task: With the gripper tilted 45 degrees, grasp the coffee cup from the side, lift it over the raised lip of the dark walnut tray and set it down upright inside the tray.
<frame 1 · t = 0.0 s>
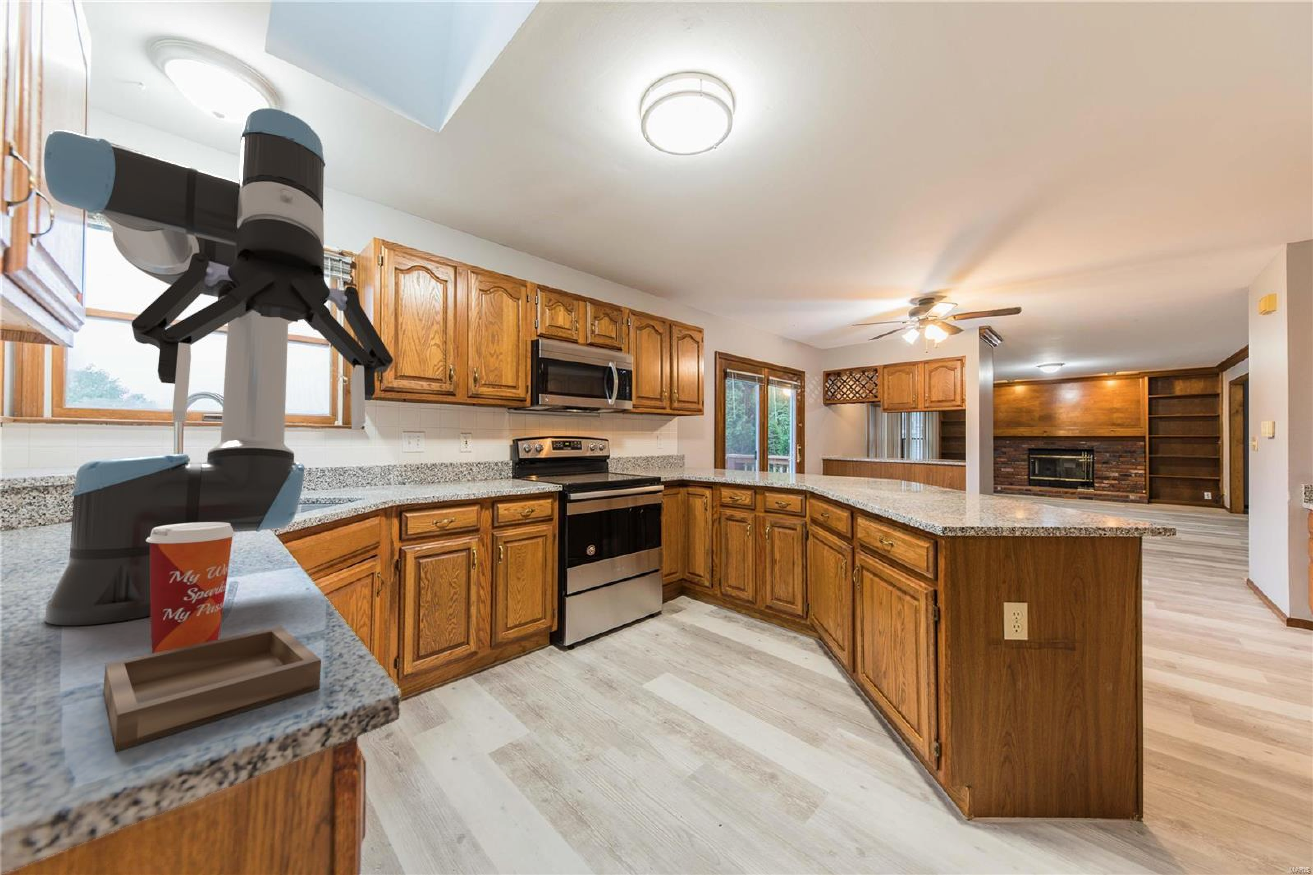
hand: (277, 422, 47), 28 cm above the counter, tool tilted 20°, fingers open, 13 cm apart
walnut tray: (213, 691, 50), on the counter
coffee cup: (186, 647, 61), on the counter
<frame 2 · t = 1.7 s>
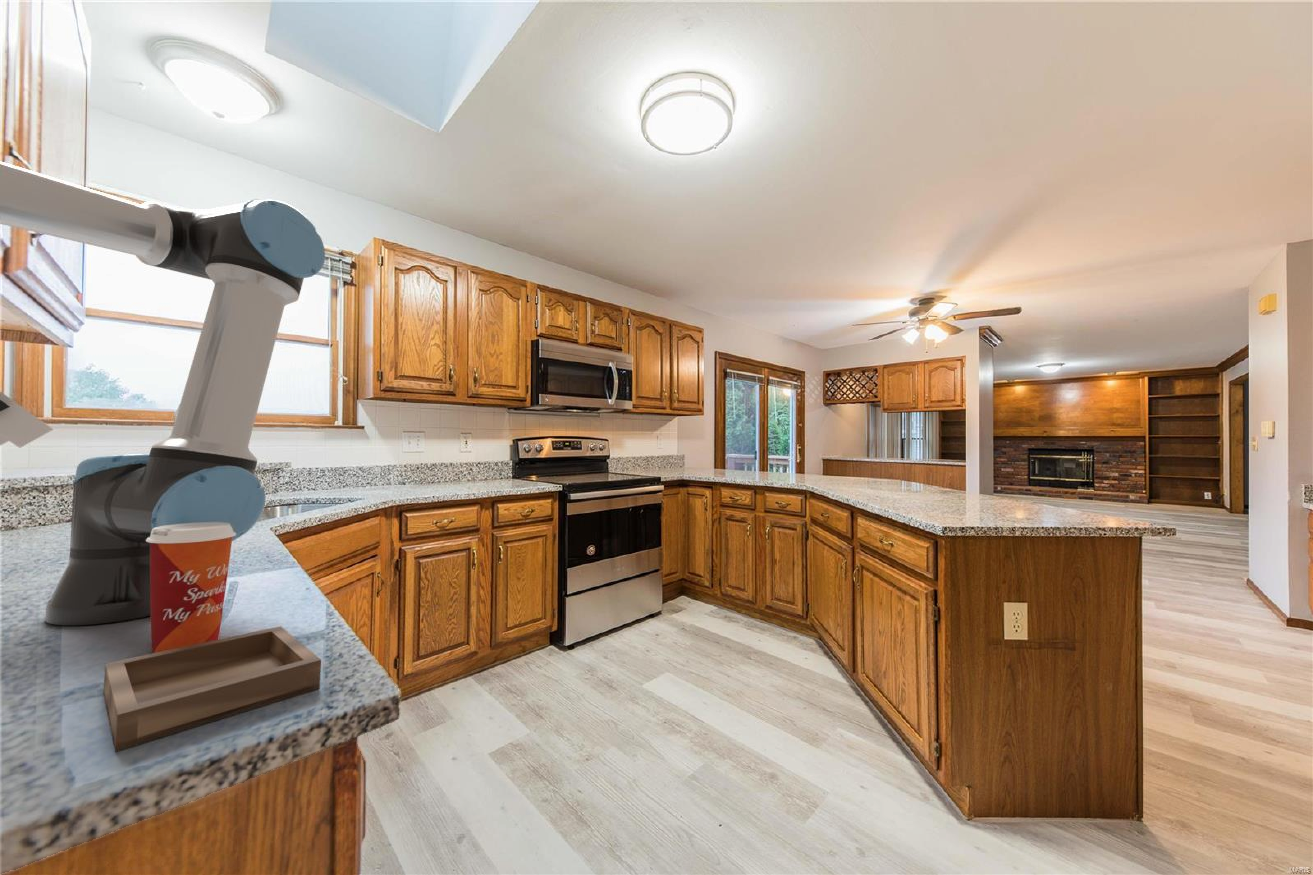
hand: (25, 438, 51), 25 cm above the counter, tool tilted 45°, fingers open, 13 cm apart
nothing on the counter moved.
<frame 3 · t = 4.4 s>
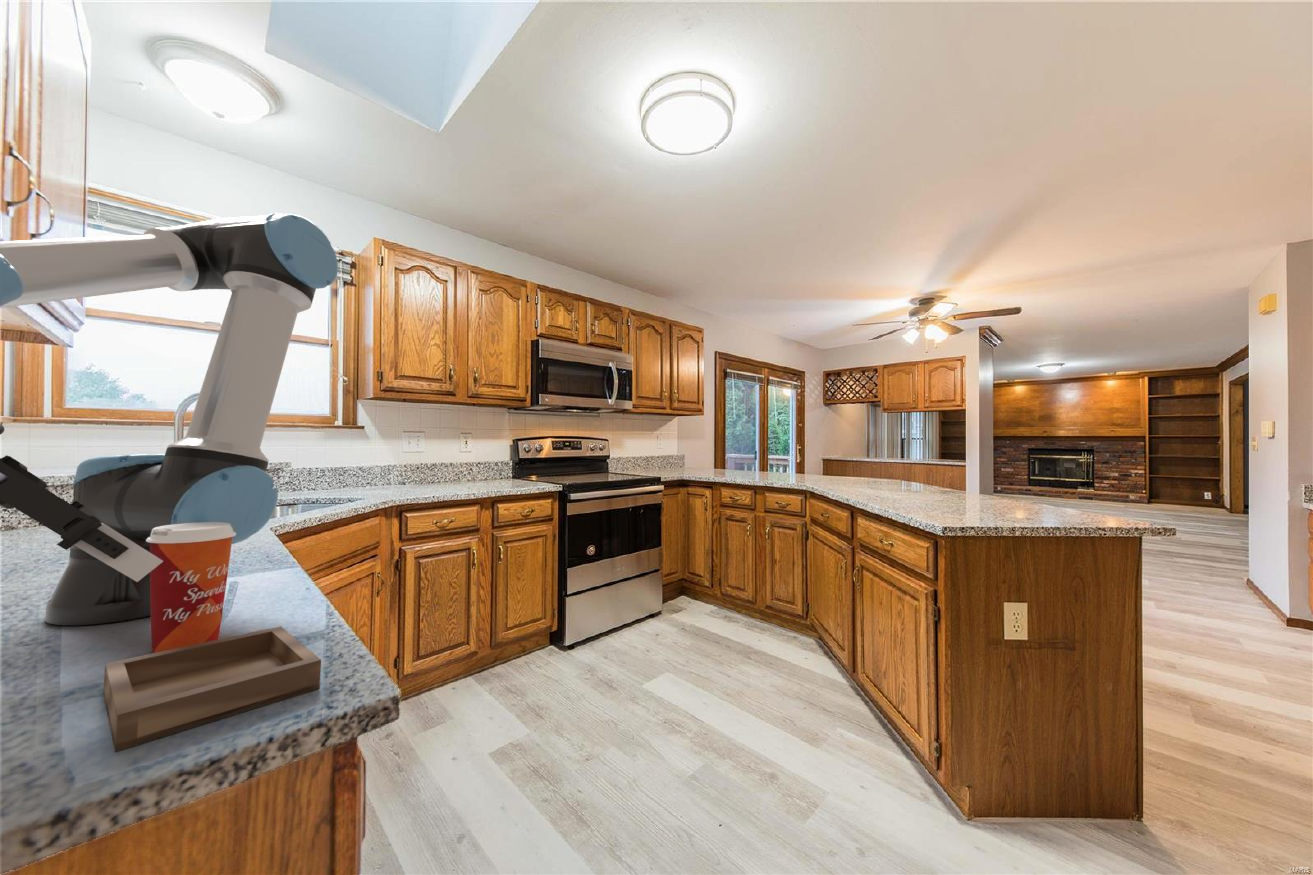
hand: (135, 561, 56), 11 cm above the counter, tool tilted 45°, fingers open, 13 cm apart
nothing on the counter moved.
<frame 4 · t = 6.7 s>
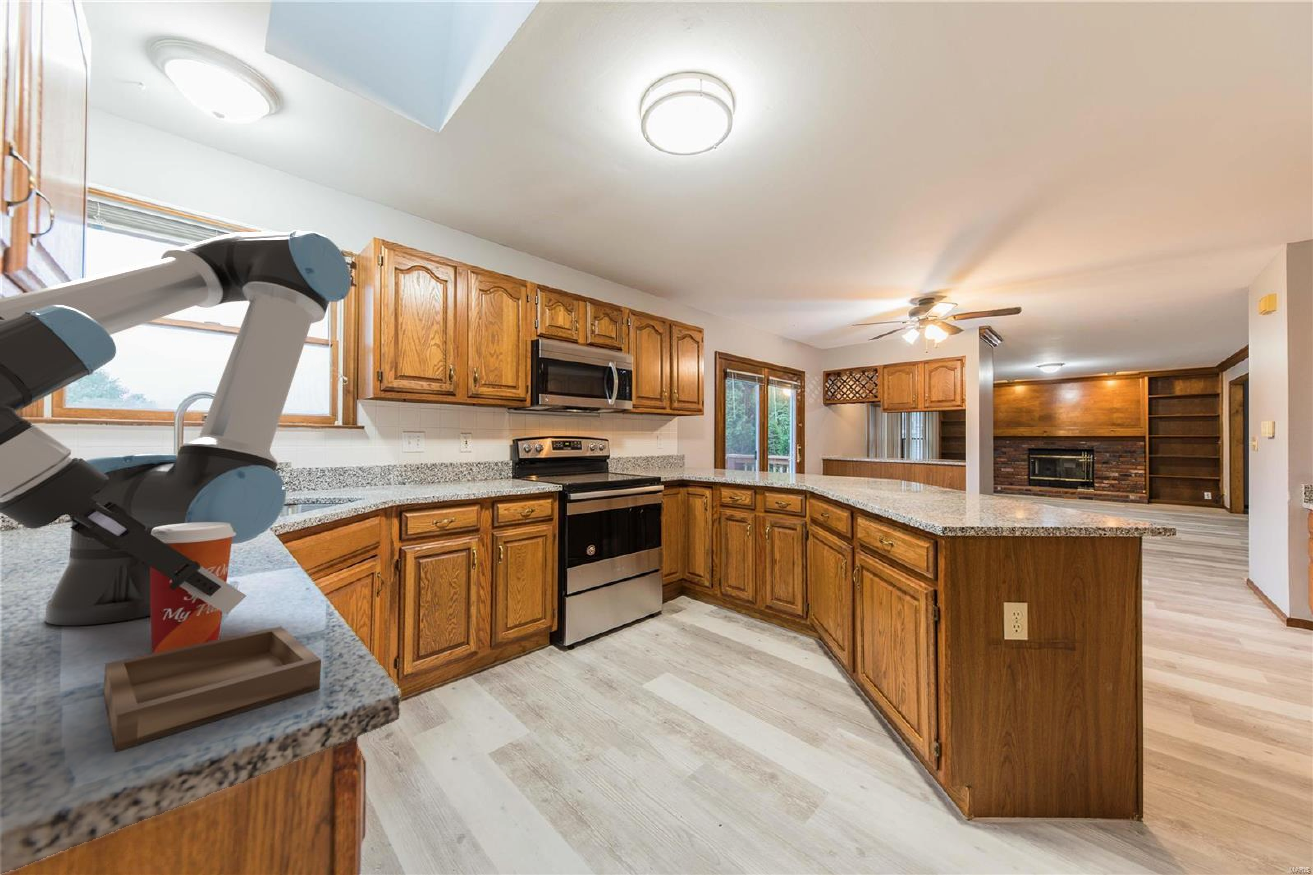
hand: (223, 597, 63), 5 cm above the counter, tool tilted 45°, fingers closed on coffee cup, 8 cm apart
coffee cup: (186, 647, 60), on the counter, touching gripper
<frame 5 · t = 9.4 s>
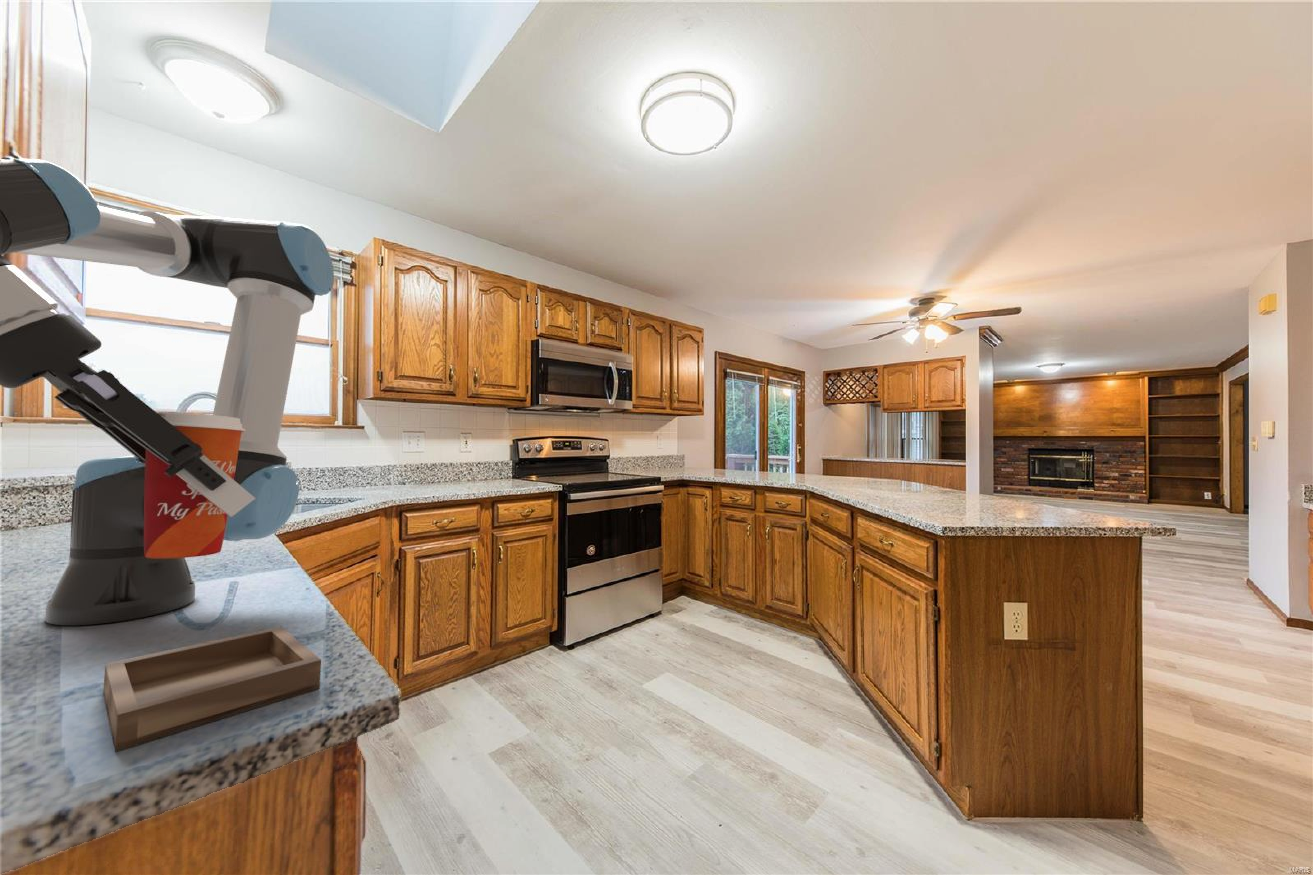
hand: (230, 504, 55), 19 cm above the counter, tool tilted 45°, fingers closed on coffee cup, 8 cm apart
coffee cup: (184, 555, 52), point 13 cm above the counter, touching gripper
when the fingers open (7 cm above the counter, at t = 12.2 s): coffee cup drops 1 cm, resting on walnut tray.
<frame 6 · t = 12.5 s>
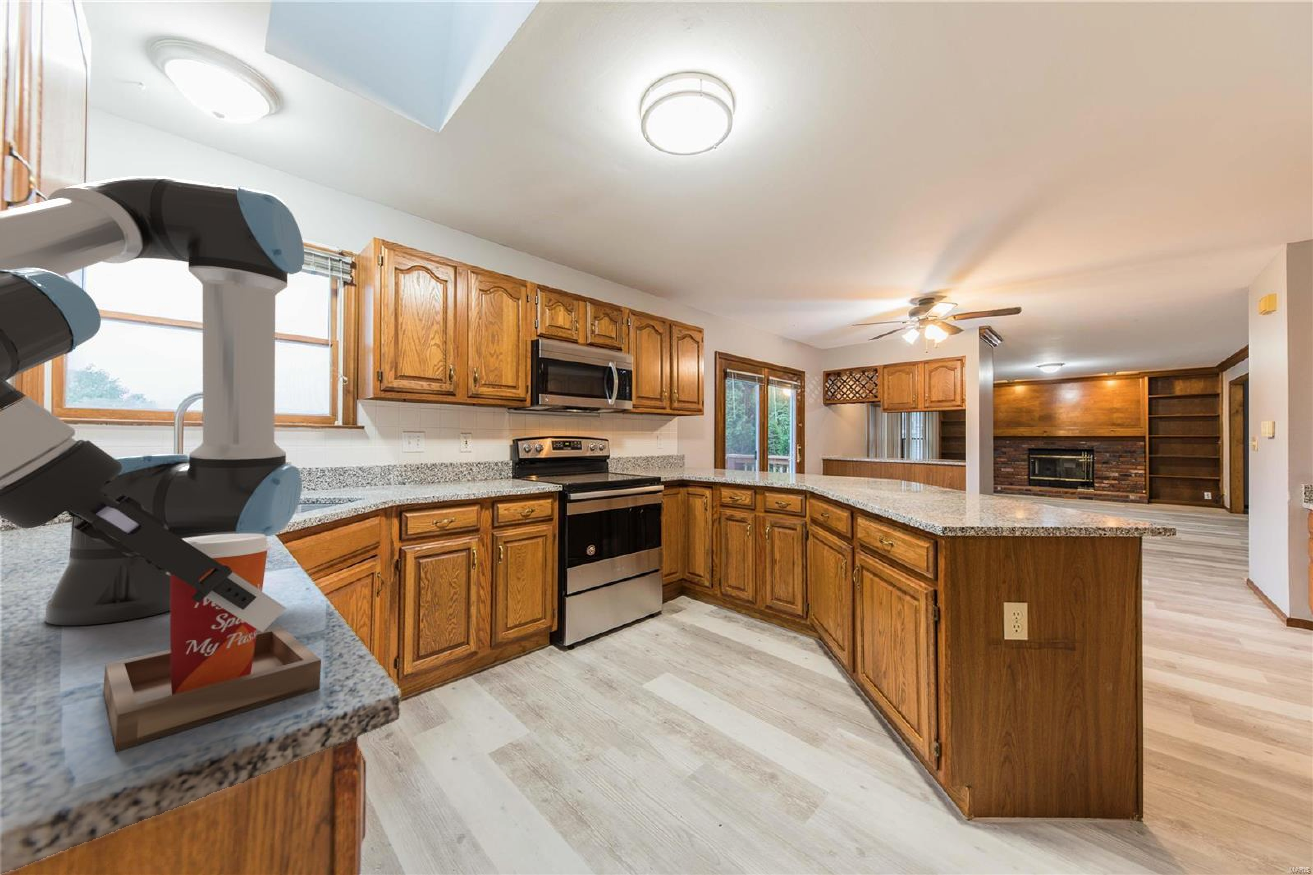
hand: (251, 607, 52), 8 cm above the counter, tool tilted 45°, fingers open, 11 cm apart
coffee cup: (213, 686, 50), point 1 cm above the counter, touching walnut tray
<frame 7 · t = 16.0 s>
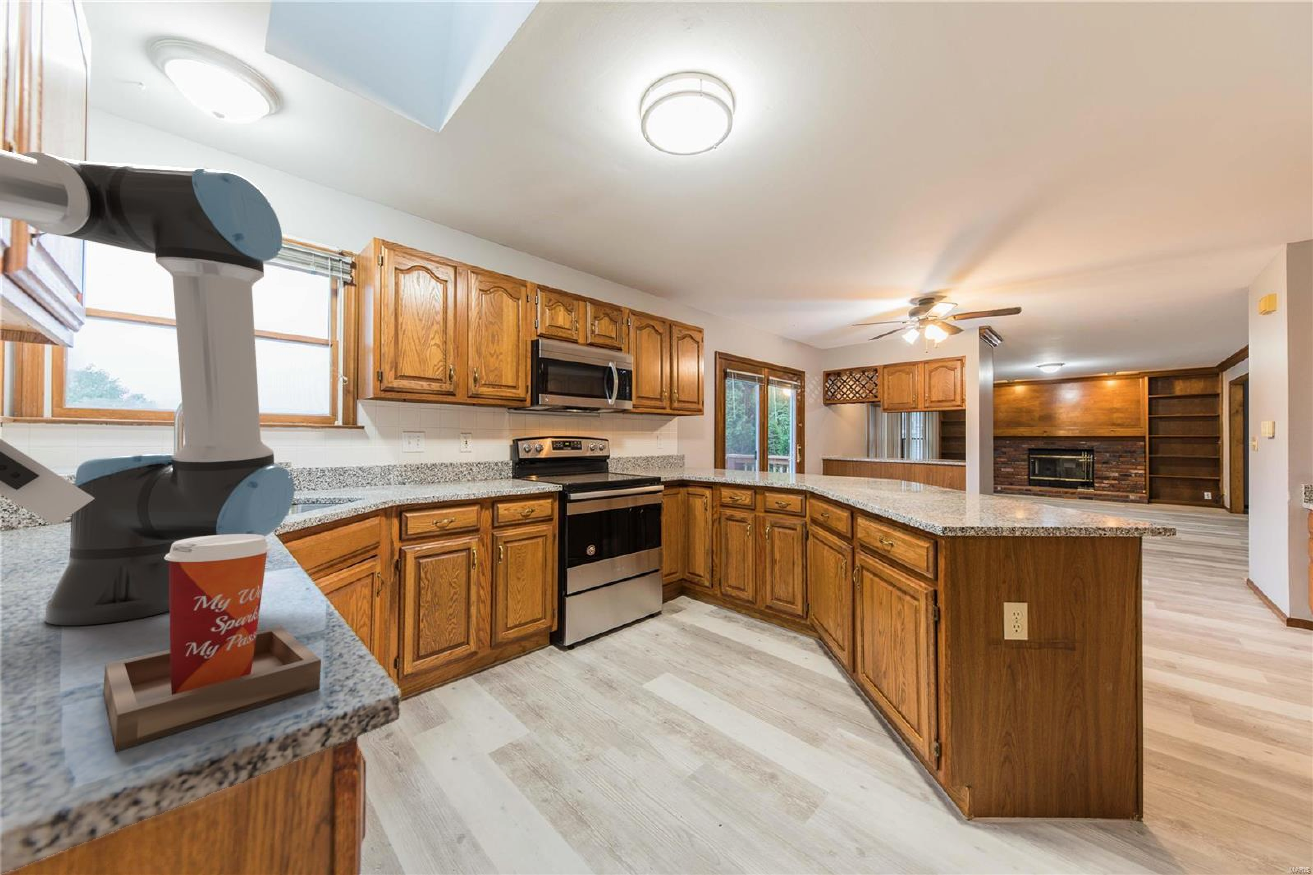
hand: (62, 503, 41), 20 cm above the counter, tool tilted 45°, fingers open, 13 cm apart
nothing on the counter moved.
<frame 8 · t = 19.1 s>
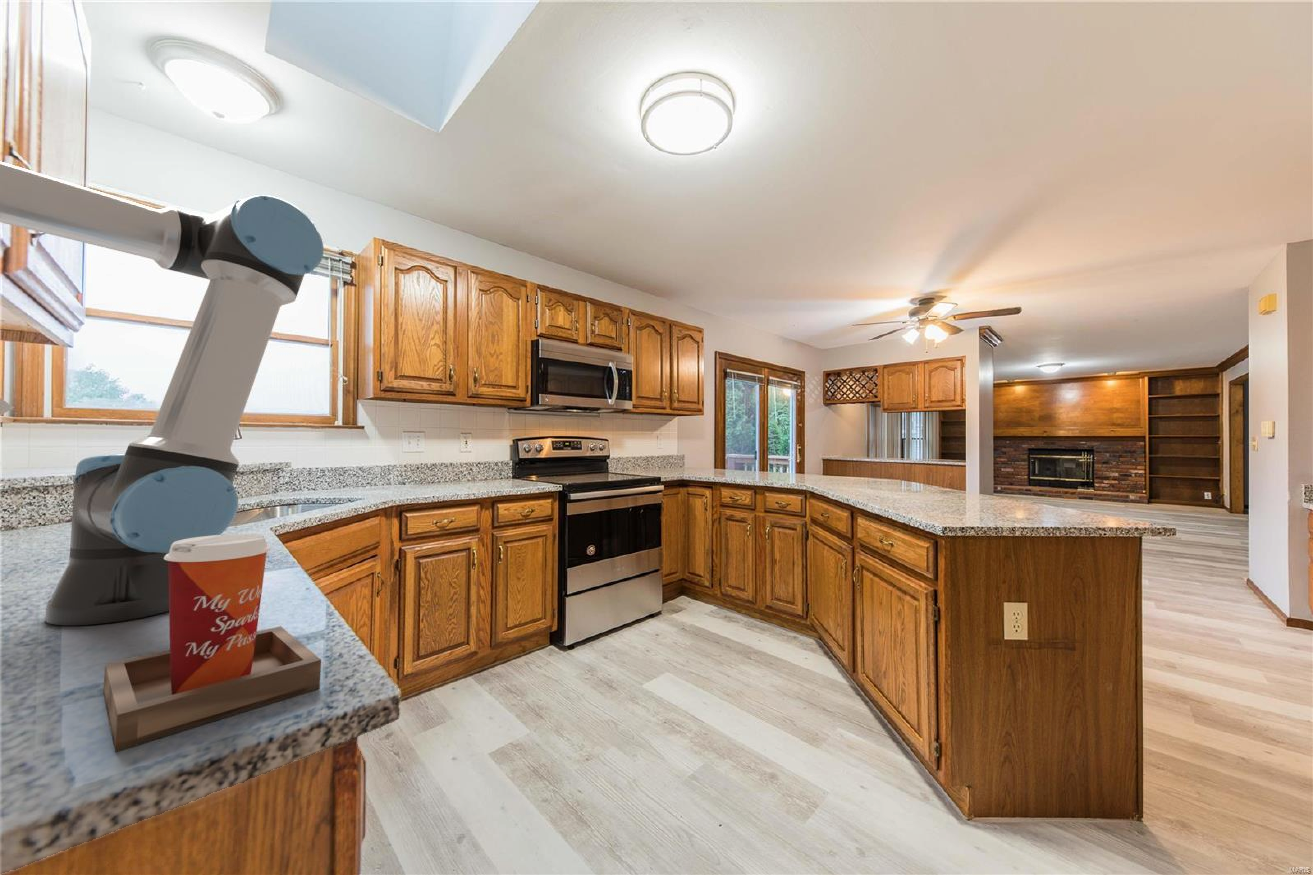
nothing on the counter moved.
at the end: coffee cup inside the target area on the walnut tray (0.1 cm from its centre), point 0.4 cm above the walnut tray's base; coffee cup tilted 0°; the gripper is holding nothing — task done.
